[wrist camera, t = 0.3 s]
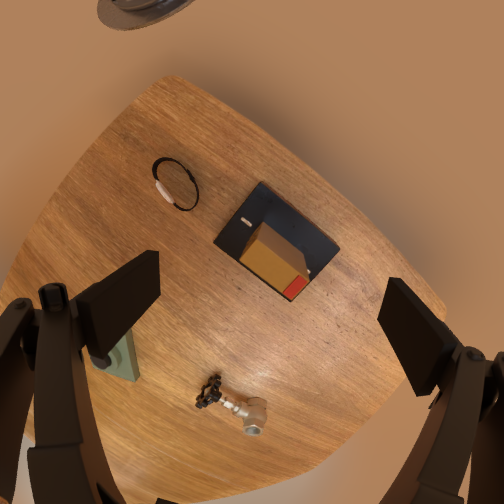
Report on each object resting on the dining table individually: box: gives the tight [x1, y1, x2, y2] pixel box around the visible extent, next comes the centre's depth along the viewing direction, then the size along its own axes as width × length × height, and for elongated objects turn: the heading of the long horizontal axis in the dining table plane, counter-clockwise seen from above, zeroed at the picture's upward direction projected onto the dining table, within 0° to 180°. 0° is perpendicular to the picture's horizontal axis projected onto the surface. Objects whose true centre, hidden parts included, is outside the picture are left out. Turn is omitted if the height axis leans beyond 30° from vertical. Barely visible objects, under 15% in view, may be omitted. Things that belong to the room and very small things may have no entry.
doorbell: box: [89, 328, 140, 382], centre depth 41 cm, size 12×10×4 cm
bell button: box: [90, 355, 111, 370], centre depth 39 cm, size 4×4×2 cm
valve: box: [195, 374, 267, 436], centre depth 40 cm, size 7×7×12 cm
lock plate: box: [213, 181, 340, 302], centre depth 33 cm, size 12×9×3 cm
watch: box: [152, 157, 199, 211], centre depth 32 cm, size 8×5×4 cm, turn 36°
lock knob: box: [239, 222, 310, 300], centre depth 27 cm, size 6×2×8 cm, turn 52°
